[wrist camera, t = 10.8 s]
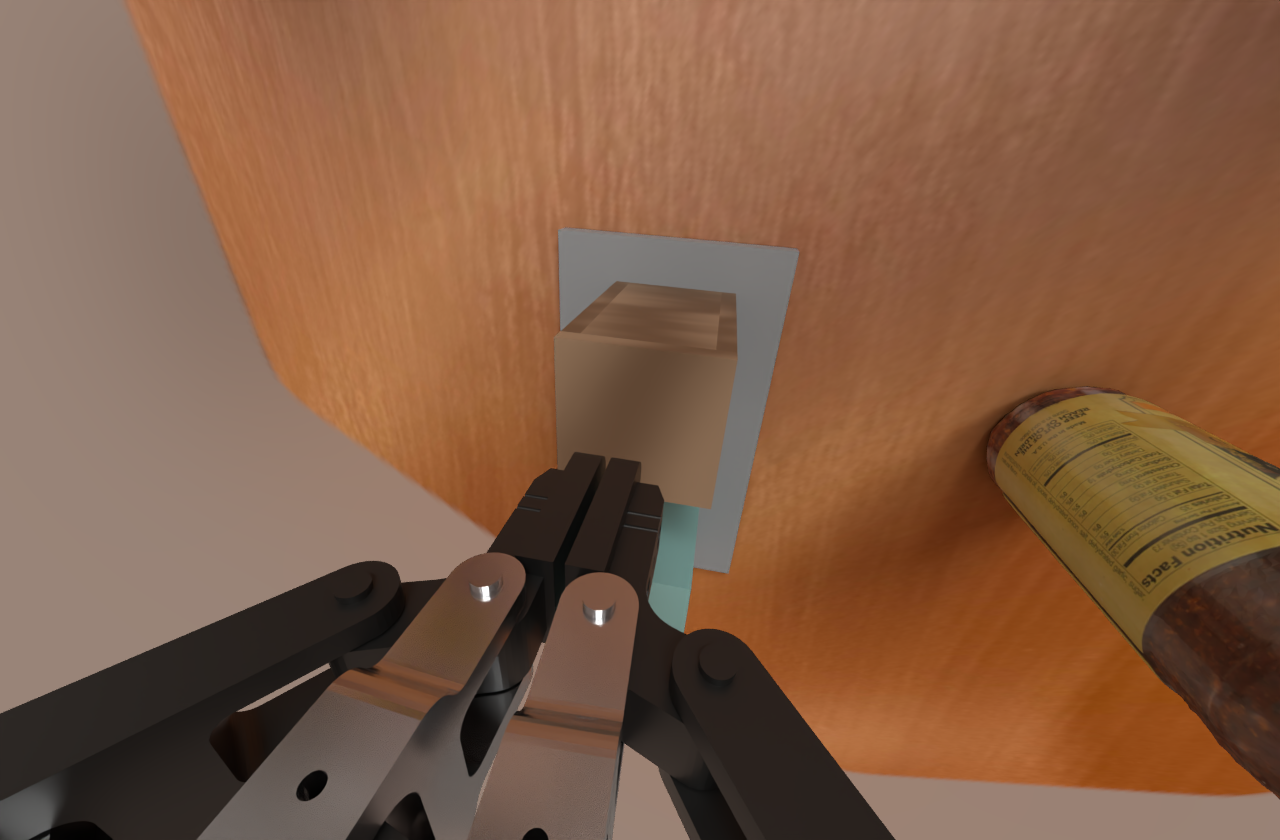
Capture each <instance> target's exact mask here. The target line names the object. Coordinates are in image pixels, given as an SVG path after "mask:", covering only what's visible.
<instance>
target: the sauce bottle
mask: <svg viewBox="0 0 1280 840" xmlns="http://www.w3.org/2000/svg"><path fill="white" fill-rule="evenodd" d="M987 464H988V471H989V475H990V477H991V478H992V480H993V481H994V482H995V483H996V485H997V486H998V487H999V488H1000V489H1001V490H1002V491H1003V496H1004V497H1005V499H1006V500H1007V501H1008V503H1009V504H1010V505H1011V506H1012V508H1013V509H1014V510H1015V511H1016V512H1017V514H1018V515H1019V516H1020V517H1021V518H1022V519H1023V521H1024V522H1025V523H1026V524H1027V525H1028V527H1029V528H1030V529H1031V530H1032V531H1033V532H1034V534H1035V535H1036V536H1037V537H1038V538H1039V539H1040V541H1041V542H1042V543H1043V544H1044V545H1045V546H1046V548H1047V549H1048V550H1049V551H1050V552H1051V553H1052V555H1053V556H1054V557H1055V558H1056V559H1057V561H1058V562H1059V563H1060V564H1061V565H1062V566H1063V567H1064V569H1065V570H1066V571H1067V572H1068V573H1069V574H1070V576H1071V577H1072V578H1073V579H1074V580H1075V581H1076V583H1077V584H1078V585H1079V586H1080V587H1081V588H1082V589H1083V591H1084V592H1085V593H1086V594H1087V595H1088V596H1089V597H1090V599H1091V600H1092V601H1093V602H1094V603H1095V604H1096V605H1097V607H1098V608H1099V609H1100V610H1101V611H1102V613H1103V614H1104V615H1105V616H1106V617H1107V619H1108V620H1109V621H1110V622H1111V623H1112V625H1113V626H1114V627H1115V628H1116V629H1117V631H1118V632H1119V633H1120V634H1121V635H1122V636H1123V637H1124V639H1125V640H1126V641H1127V642H1128V643H1129V644H1130V646H1131V647H1132V648H1133V649H1134V650H1135V651H1136V653H1137V654H1138V655H1139V656H1140V657H1141V658H1142V660H1143V661H1144V662H1145V663H1146V664H1147V665H1148V666H1149V668H1150V669H1151V670H1152V671H1153V672H1154V673H1155V675H1156V676H1157V677H1158V678H1159V679H1160V680H1161V681H1162V682H1163V683H1164V684H1166V685H1167V686H1168V687H1169V688H1170V689H1172V690H1173V691H1175V692H1176V693H1178V695H1180V696H1181V697H1182V698H1183V700H1184V701H1185V702H1186V703H1187V704H1188V706H1189V708H1190V709H1191V710H1192V711H1193V712H1195V713H1196V714H1197V715H1198V716H1199V717H1200V718H1201V720H1202V721H1203V723H1204V724H1205V725H1206V726H1207V728H1208V729H1209V730H1210V732H1211V733H1212V734H1213V736H1214V737H1215V739H1216V740H1217V742H1218V743H1219V745H1221V746H1222V747H1223V748H1224V749H1225V750H1226V751H1227V752H1228V753H1229V754H1230V755H1231V756H1232V757H1233V758H1234V760H1235V761H1236V762H1237V763H1238V764H1239V765H1241V766H1242V767H1243V768H1244V769H1246V770H1247V771H1248V772H1249V773H1250V774H1251V775H1252V776H1253V777H1254V778H1255V779H1256V780H1257V781H1259V782H1260V783H1261V784H1262V785H1263V786H1265V787H1266V788H1267V789H1269V790H1270V791H1271V792H1273V793H1274V794H1275V795H1276V796H1277V797H1278V798H1279V799H1280V469H1279V468H1278V467H1276V466H1274V465H1272V464H1269V463H1267V462H1265V461H1263V460H1261V459H1259V458H1257V457H1255V456H1253V455H1251V454H1249V453H1247V452H1245V451H1243V450H1241V449H1239V448H1237V447H1236V446H1234V445H1232V444H1230V443H1228V442H1226V441H1224V440H1222V439H1220V438H1218V437H1217V436H1215V435H1213V434H1211V433H1209V432H1207V431H1205V430H1203V429H1201V428H1199V427H1197V426H1195V425H1193V424H1191V423H1189V422H1187V421H1185V420H1183V419H1182V418H1180V417H1178V416H1176V415H1174V414H1172V413H1170V412H1168V411H1166V410H1164V409H1162V408H1160V407H1158V406H1156V405H1154V404H1152V403H1150V402H1148V401H1145V400H1143V399H1140V398H1136V397H1133V396H1128V395H1126V394H1124V393H1122V392H1120V391H1118V390H1115V389H1111V388H1106V389H1105V388H1096V387H1088V386H1086V387H1076V388H1065V389H1055V390H1052V391H1049V392H1046V393H1043V394H1040V395H1038V396H1036V397H1033V398H1031V399H1029V400H1028V401H1026V402H1024V403H1022V404H1020V405H1019V406H1018V407H1017V408H1015V409H1014V410H1013V411H1012V412H1011V413H1008V414H1007V415H1005V416H1004V419H1002V420H1001V421H1000V422H999V423H998V424H997V425H996V426H995V427H994V429H993V430H992V431H991V435H990V438H989V442H988V445H987Z"/></svg>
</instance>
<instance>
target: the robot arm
mask: <svg viewBox="0 0 1280 840" xmlns="http://www.w3.org/2000/svg"><path fill="white" fill-rule="evenodd" d="M640 481H641V462H639V461H633V460H626V459H620V458H614V457H612V458H611V459H610V461H609V463H608V466H607V468H606V459H605V456H600V455H594V454H587V453H581V452H574V454H573V455H572V457H571V459H570V460H569V462H568V464H567V465H566V467H565V469H564V470H558V469H552V468H551V469H549V470H548V471H546V472H545V473H543V474H542V475H540V476H539V477H537V478H536V479H535V480H534V481H533V483H532V484H531V486H530V487H529V489H528V490H527V492H526V493H525V497H524V496H523V498H522V499H521V501H520V502H519V504H518V507H517V509H515V510H514V512H513V513H512V515H511V516H510V518H509V519H508V521H507V522H506V524H505V525H504V527H503V528H502V530H501V532H500V533H499V535H498V536H497V538H496V539H495V541H494V542H493V544H492V545H491V547H490V548H489V550H488V552H487V553H485V554H480V555H477V556H474V557H472V558H470V559H467V560H466V561H464V562H462V563H461V564H460V565H459V566H457V567H456V568H455V569H454V570H453V571H452V572H451V574H450V575H449V576H448V577H447V578H445V579H438V580H427V581H416V582H405V583H401V580H400V577H399V574H398V572H397V570H396V569H395V568H394V567H393V566H392V565H390V564H388V563H385V562H380V561H365V562H359V563H356V564H352V565H349V566H347V567H344V568H341V569H339V570H337V571H334V572H332V573H330V574H327V575H325V576H323V577H320V578H318V579H316V580H314V581H311V582H309V583H306V584H304V585H302V586H299V587H297V588H294V589H292V590H290V591H288V592H285V593H283V594H280V595H278V596H276V597H273V598H271V599H269V600H266V601H264V602H262V603H259V604H257V605H255V606H252V607H250V608H247V609H245V610H243V611H240V612H238V613H236V614H233V615H231V616H229V617H226V618H224V619H222V620H219V621H217V622H215V623H212V624H210V625H208V626H205V627H203V628H201V629H198V630H196V631H193V632H191V633H189V634H186V635H184V636H182V637H179V638H177V639H175V640H172V641H170V642H168V643H165V644H163V645H161V646H159V647H156V648H153V649H151V650H149V651H146V652H144V653H142V654H140V655H137V656H135V657H133V658H130V659H128V660H125V661H123V662H121V663H118V664H116V665H114V666H111V667H109V668H106V669H104V670H102V671H99V672H97V673H95V674H92V675H90V676H88V677H85V678H83V679H81V680H78V681H76V682H74V683H71V684H69V685H66V686H64V687H62V688H60V689H57V690H55V691H52V692H50V693H48V694H45V695H43V696H41V697H38V698H36V699H34V700H31V701H29V702H27V703H24V704H22V705H19V706H17V707H15V708H13V709H10V710H8V711H5V712H3V713H1V714H0V840H612V836H613V827H614V819H615V811H616V804H617V796H618V789H619V781H620V774H621V766H622V758H623V751H624V744H626V745H628V746H629V747H631V748H632V749H634V750H635V751H636V752H638V753H639V754H641V755H642V756H644V757H645V758H647V759H648V760H649V761H651V762H652V763H654V764H655V765H657V766H658V768H659V772H660V775H661V778H662V780H663V782H664V785H665V787H666V789H667V791H668V793H669V795H670V797H671V799H672V802H673V804H674V806H675V808H676V810H677V813H678V815H679V817H680V819H681V821H682V823H683V825H684V828H685V830H686V832H687V834H688V836H689V838H690V840H895V839H894V837H893V836H892V835H891V833H890V832H889V831H888V830H887V828H886V827H885V825H884V824H883V823H882V821H881V820H880V819H879V818H878V816H877V815H876V814H875V812H874V811H873V810H872V808H871V807H870V806H869V804H868V803H867V802H866V800H865V799H864V798H863V796H862V795H861V794H860V793H859V791H858V790H857V789H856V787H855V786H854V785H853V783H852V782H851V781H850V779H849V778H848V777H847V775H846V774H845V773H844V771H843V770H842V769H841V768H840V766H839V765H838V764H837V762H836V761H835V760H834V758H833V757H832V756H831V754H830V753H829V752H828V750H827V749H826V748H825V747H824V745H823V744H822V743H821V741H820V740H819V739H818V737H817V736H816V735H815V733H814V732H813V731H812V729H811V728H810V727H809V726H808V724H807V723H806V722H805V720H804V719H803V718H802V716H801V715H800V714H799V712H798V711H797V710H796V708H795V707H794V706H793V704H792V703H791V702H790V701H789V699H788V698H787V697H786V695H785V694H784V693H783V691H782V690H781V689H780V687H779V686H778V685H777V683H776V682H775V681H774V680H773V678H772V677H771V676H770V674H769V673H768V672H767V670H766V669H765V668H764V666H763V665H762V664H761V662H760V661H759V660H758V659H757V657H756V656H755V655H754V653H753V652H752V651H751V650H750V648H749V647H748V646H747V645H746V644H745V643H744V642H742V641H741V640H740V639H738V638H737V637H735V636H734V635H732V634H729V633H727V632H724V631H721V630H716V629H702V630H697V631H694V632H692V633H690V634H688V635H686V634H684V633H683V632H681V631H679V630H677V629H675V628H673V627H671V626H670V625H668V624H667V623H665V622H664V621H663V620H661V619H660V618H659V617H658V616H657V615H656V613H655V612H654V611H653V609H652V608H651V606H650V604H649V602H648V600H649V595H650V590H651V585H652V579H653V575H654V570H655V565H656V560H657V555H658V550H659V543H660V534H661V525H662V516H663V507H664V499H663V496H662V493H661V491H660V488H659V486H658V485H652V484H646V483H640ZM542 642H543V643H545V646H544V649H543V652H542V655H541V658H540V661H539V664H538V667H537V670H536V673H535V677H534V679H533V682H532V685H531V688H530V692H529V695H528V698H527V700H526V703H525V705H524V707H523V709H522V710H521V711H517V709H518V707H519V705H520V703H521V701H522V699H523V697H524V694H525V692H526V690H527V688H528V685H529V684H530V681H531V678H532V675H533V662H534V660H535V657H536V655H537V652H538V650H539V647H540V645H541V643H542ZM327 663H329V665H330V667H331V668H330V669H328V670H326V671H324V672H322V673H320V674H318V675H317V676H315V677H313V678H311V679H309V680H307V681H305V682H303V683H301V684H300V685H298V686H296V687H294V688H292V689H290V690H288V691H287V692H285V693H283V694H281V695H279V696H277V697H275V698H274V699H272V700H270V701H268V702H266V703H264V704H263V705H260V706H259V707H256V708H254V709H251V710H248V711H242V712H236V711H238V710H240V709H242V708H244V707H246V706H247V705H249V704H251V703H253V702H255V701H257V700H259V699H261V698H263V697H264V696H266V695H268V694H270V693H272V692H274V691H276V690H278V689H280V688H282V687H283V686H285V685H287V684H289V683H291V682H293V681H294V680H297V679H298V678H300V677H302V676H304V675H306V674H308V673H310V672H312V671H314V670H316V669H317V668H319V667H321V666H323V665H325V664H327ZM496 754H497V755H496ZM495 756H496V757H495ZM494 758H495V760H494ZM493 760H494V763H493V766H492V769H491V772H490V775H489V778H488V780H487V783H486V786H485V789H484V792H483V795H482V797H481V800H480V803H479V806H478V809H477V812H476V808H477V801H478V797H479V794H480V790H481V787H482V785H483V782H484V780H485V777H486V775H487V773H488V771H489V769H490V767H491V765H492V762H493ZM475 813H476V815H475Z"/></svg>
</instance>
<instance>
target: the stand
mask: <svg viewBox="0 0 1280 840" xmlns="http://www.w3.org/2000/svg"><path fill="white" fill-rule="evenodd" d="M558 243H559V288H560V331H561V330H562V329H564V328H565V327H566V326H567V325H568V324H569V323H570V322H571V321H572V320H574V319H575V318H576V317H577V316H578V315H579V314H580V313H581V312H582V311H584V310H585V309H586V308H587V307H588V306H589V305H590V304H591V303H593V302H594V301H595V300H596V299H597V298H598V297H599V296H600V295H601V294H603V293H604V292H605V291H606V290H607V289H608V288H609V287H610V286H611V285H613V284H614V283H615V282H616V281H620V282H630V283H639V284H649V285H659V286H668V287H678V288H687V289H697V290H706V291H716V292H725V293H735V294H736V312H737V354H738V361H737V366H736V372H735V378H734V383H733V389H732V394H731V400H730V406H729V411H728V417H727V422H726V428H725V434H724V439H723V445H722V451H721V456H720V462H719V467H718V473H717V479H716V484H715V490H714V495H713V501H712V507H711V509H706V508H700V507H694V506H688V505H682V504H676V503H670V502H664V507H663V516H662V525H661V534H660V543H659V550H658V555H657V560H656V565H655V570H654V575H653V579H652V585H651V590H650V595H649V600H648V602H649V604H650V606H651V608H652V609H653V611H654V612H655V613H656V615H657V616H658V617H659V618H660V619H661V620H663V621H664V622H665V623H667V624H668V625H670V626H671V627H673V628H675V629H677V630H679V631H681V632H683V633H684V628H685V622H686V616H687V610H688V604H689V598H690V592H691V584H692V575H693V567H695V568H700V569H706V570H711V571H717V572H722V573H729V569H730V564H731V560H732V555H733V551H734V546H735V541H736V537H737V532H738V528H739V523H740V519H741V514H742V510H743V505H744V501H745V496H746V492H747V487H748V483H749V478H750V474H751V469H752V465H753V460H754V455H755V451H756V446H757V442H758V437H759V433H760V428H761V424H762V419H763V415H764V410H765V406H766V401H767V397H768V392H769V388H770V383H771V379H772V374H773V369H774V365H775V360H776V356H777V351H778V347H779V342H780V338H781V333H782V329H783V324H784V320H785V315H786V311H787V306H788V302H789V297H790V293H791V288H792V283H793V279H794V274H795V270H796V265H797V261H798V256H799V251H798V250H797V248H787V247H776V246H765V245H754V244H743V243H732V242H720V241H709V240H698V239H687V238H676V237H665V236H654V235H643V234H632V233H621V232H610V231H599V230H588V229H577V228H562V229H559V230H558Z"/></svg>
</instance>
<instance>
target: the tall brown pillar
mask: <svg viewBox="0 0 1280 840" xmlns="http://www.w3.org/2000/svg"><path fill="white" fill-rule="evenodd" d="M554 361H555V395H556V430H557V464H558V470H564V469H565V467H566V465H567V464H568V462H569V460H570V459H571V457H572V455H573V454H574V452H581V453H587V454H594V455H600V456H605V459H606V468H607V466H608V463H609V461H610V459H611V458H612V457H614V458H620V459H626V460H633V461H639V462H641V481H640V483H646V484H652V485H658V486H659V488H660V491H661V493H662V496H663V499H664V502H670V503H676V504H682V505H688V506H694V507H700V508H706V509H711V507H712V501H713V495H714V490H715V484H716V479H717V473H718V467H719V462H720V456H721V451H722V445H723V439H724V434H725V428H726V422H727V417H728V411H729V406H730V400H731V394H732V389H733V383H734V378H735V372H736V366H737V361H738V354H737V312H736V294H735V293H725V292H716V291H706V290H697V289H687V288H678V287H668V286H659V285H649V284H639V283H630V282H620V281H616V282H615V283H614V284H613V285H611V286H610V287H609V288H608V289H607V290H606V291H605V292H604V293H603V294H601V295H600V296H599V297H598V298H597V299H596V300H595V301H594V302H593V303H591V304H590V305H589V306H588V307H587V308H586V309H585V310H584V311H582V312H581V313H580V314H579V315H578V316H577V317H576V318H575V319H574V320H572V321H571V322H570V323H569V324H568V325H567V326H566V327H565V328H564V329H562V330H561V331H560V332H559V333H558V334H557V335H556V336H555V337H554Z"/></svg>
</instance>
